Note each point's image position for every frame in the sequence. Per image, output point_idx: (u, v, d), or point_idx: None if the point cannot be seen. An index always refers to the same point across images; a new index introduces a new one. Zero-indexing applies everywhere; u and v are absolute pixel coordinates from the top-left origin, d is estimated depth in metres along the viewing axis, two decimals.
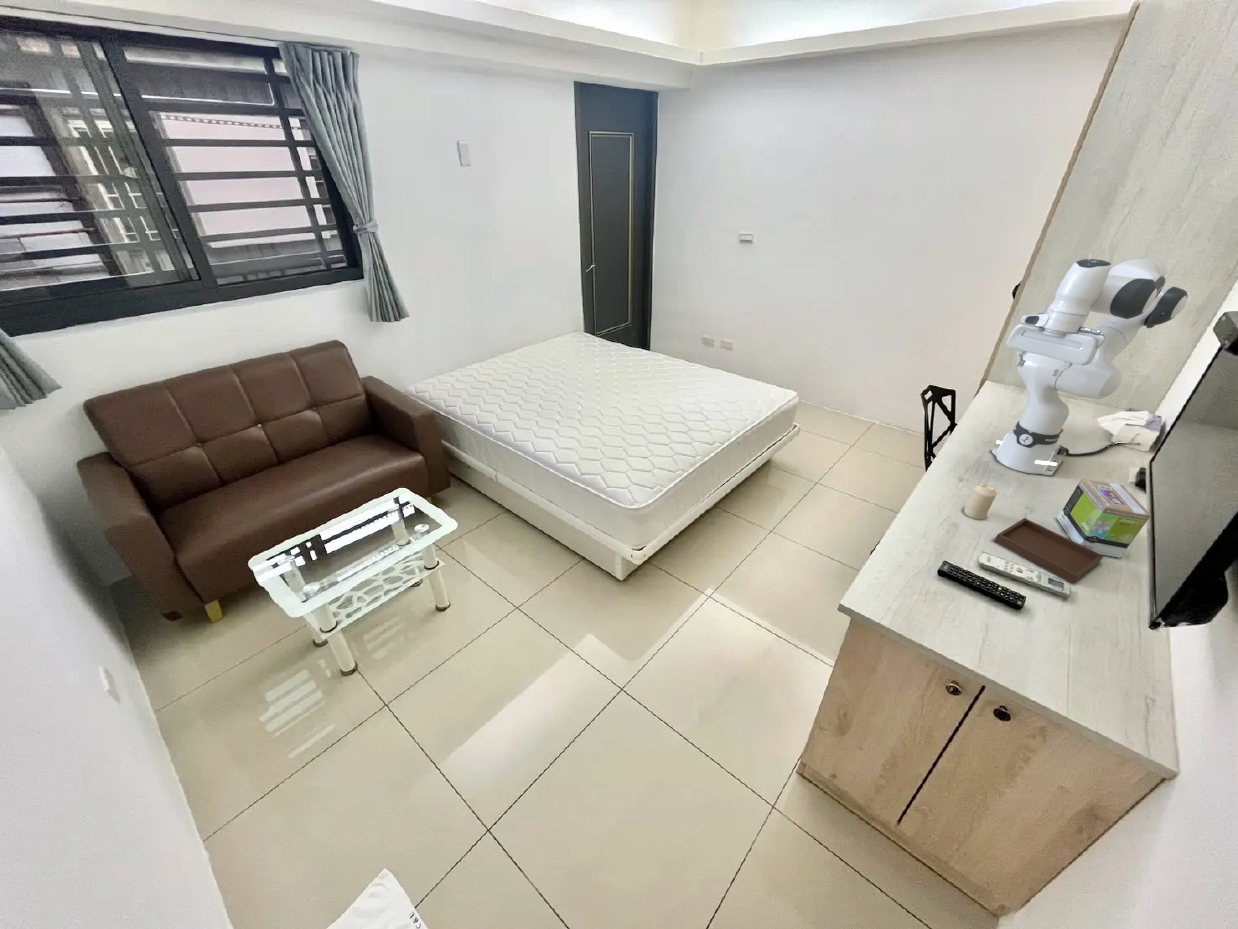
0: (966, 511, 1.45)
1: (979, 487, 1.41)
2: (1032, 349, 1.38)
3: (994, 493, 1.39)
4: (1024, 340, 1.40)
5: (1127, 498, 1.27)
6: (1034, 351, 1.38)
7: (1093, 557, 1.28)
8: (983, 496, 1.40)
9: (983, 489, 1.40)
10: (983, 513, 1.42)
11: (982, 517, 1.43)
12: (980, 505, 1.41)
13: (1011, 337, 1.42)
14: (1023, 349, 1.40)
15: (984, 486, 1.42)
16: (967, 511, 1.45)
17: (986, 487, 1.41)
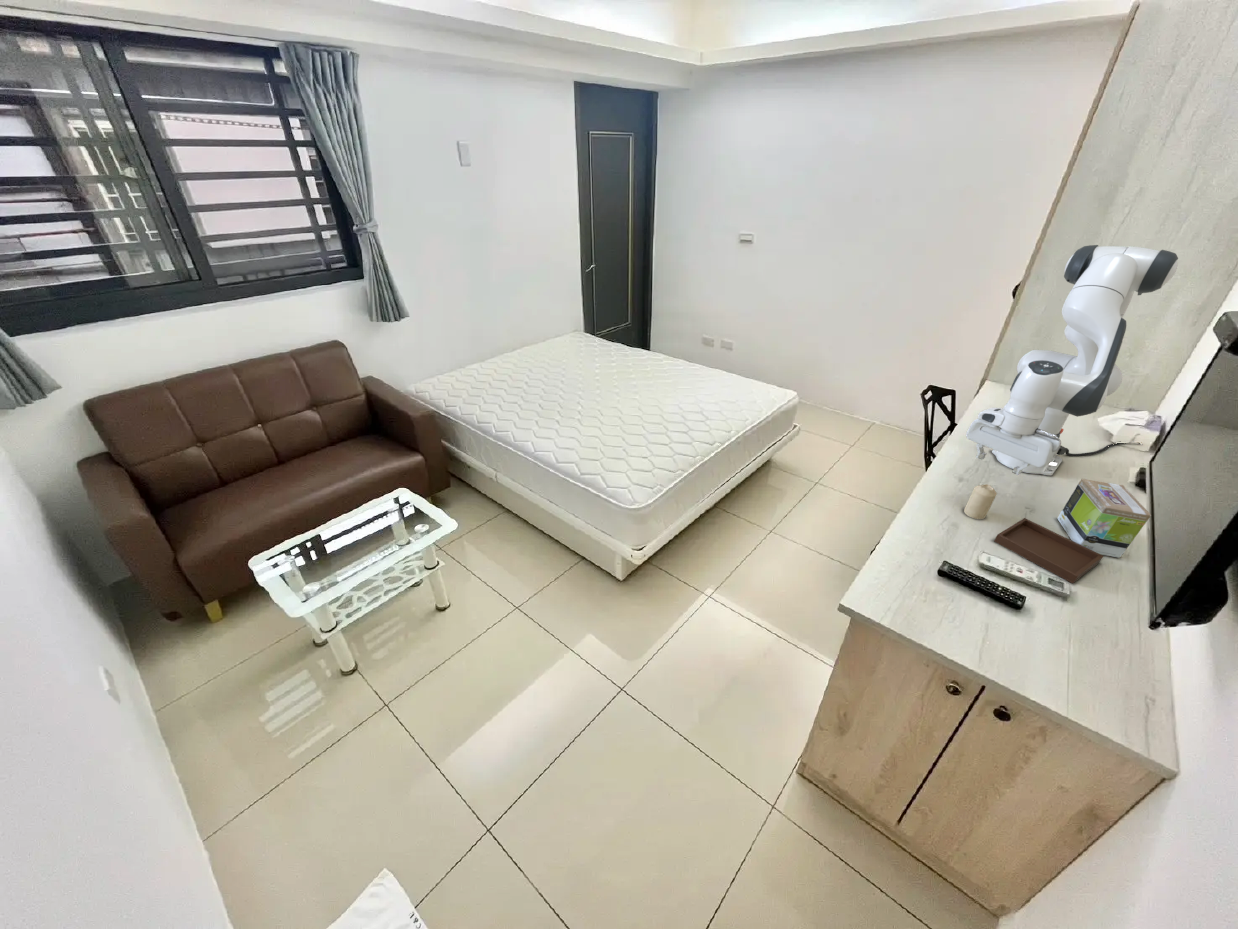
0: (966, 511, 1.45)
1: (979, 487, 1.41)
2: (991, 445, 1.35)
3: (994, 493, 1.39)
4: (982, 435, 1.36)
5: (1127, 498, 1.27)
6: (993, 447, 1.35)
7: (1093, 557, 1.28)
8: (983, 496, 1.40)
9: (983, 489, 1.40)
10: (983, 513, 1.42)
11: (982, 517, 1.43)
12: (980, 505, 1.41)
13: (970, 430, 1.38)
14: (982, 444, 1.37)
15: (984, 486, 1.42)
16: (967, 511, 1.45)
17: (986, 487, 1.41)
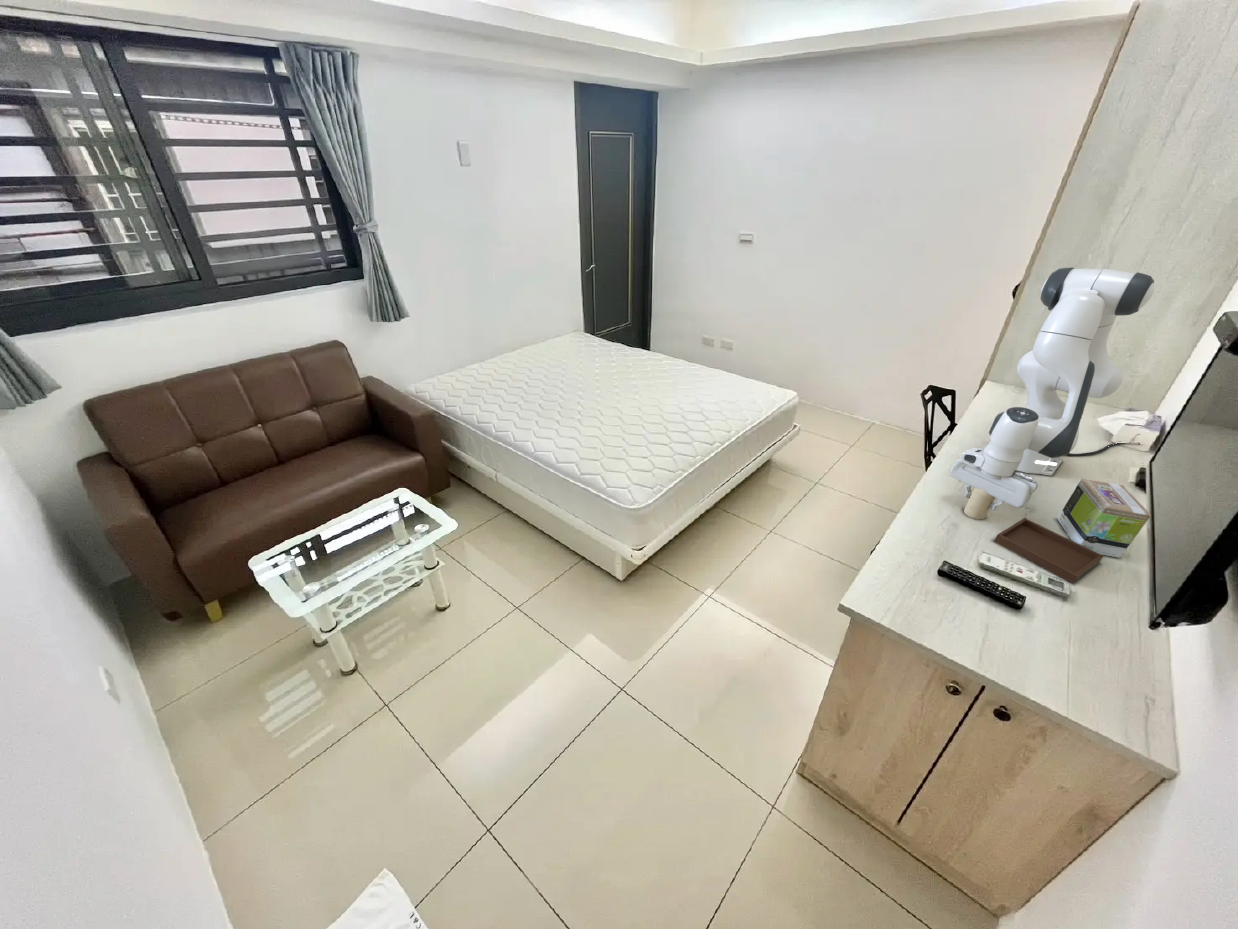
0: (966, 511, 1.45)
1: None
2: (973, 484, 1.42)
3: None
4: (965, 474, 1.43)
5: (1127, 498, 1.27)
6: (975, 486, 1.42)
7: (1093, 557, 1.28)
8: (983, 496, 1.40)
9: None
10: (983, 513, 1.42)
11: (982, 517, 1.43)
12: (980, 505, 1.41)
13: (953, 469, 1.46)
14: (965, 482, 1.44)
15: None
16: (967, 511, 1.45)
17: None
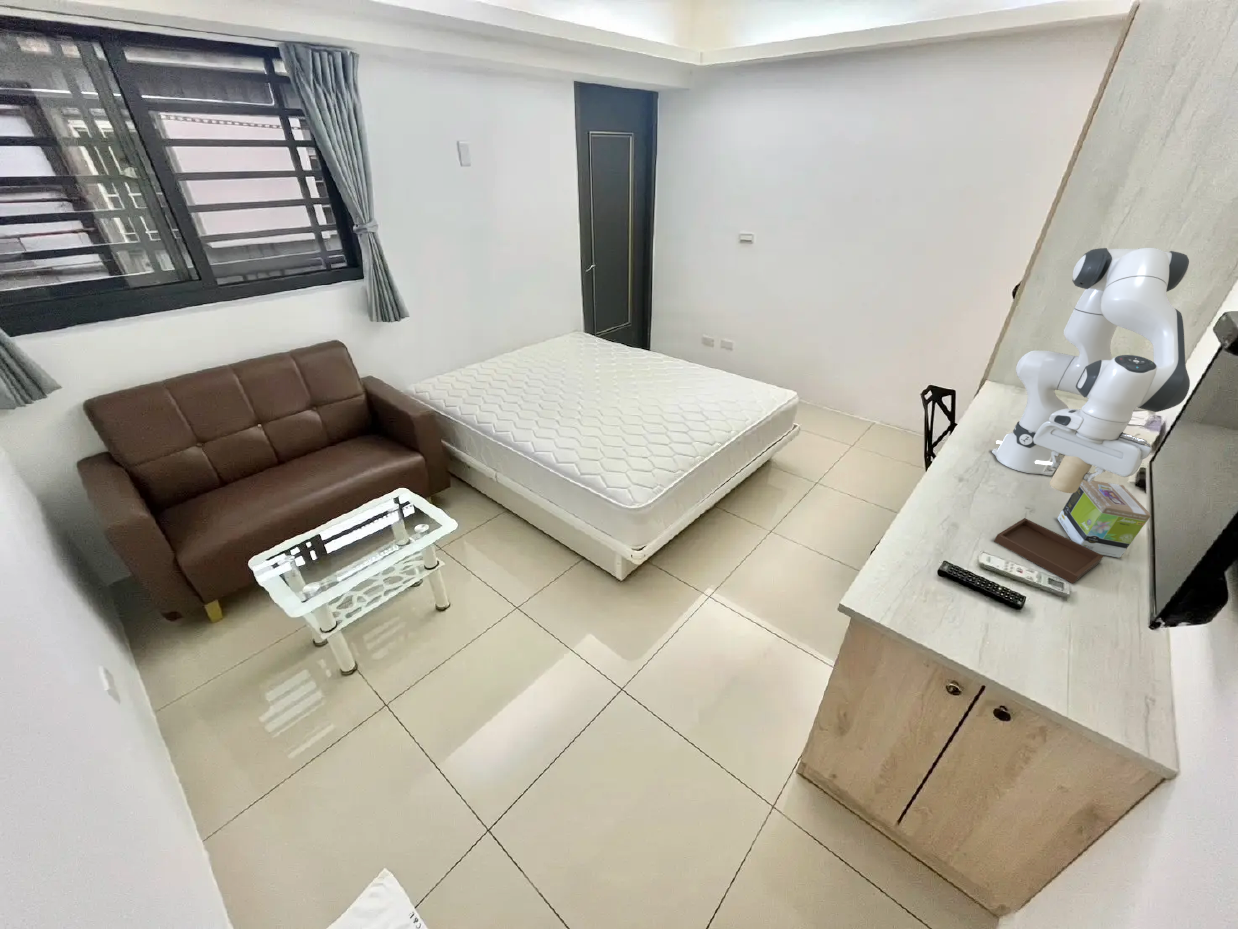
0: (1053, 484, 1.23)
1: None
2: (1064, 451, 1.20)
3: None
4: (1054, 439, 1.21)
5: (1127, 498, 1.27)
6: (1066, 453, 1.20)
7: (1093, 557, 1.28)
8: (1077, 465, 1.18)
9: (1077, 457, 1.18)
10: (1076, 485, 1.20)
11: (1074, 491, 1.21)
12: (1073, 476, 1.19)
13: (1038, 434, 1.24)
14: (1053, 449, 1.22)
15: None
16: (1055, 484, 1.23)
17: None
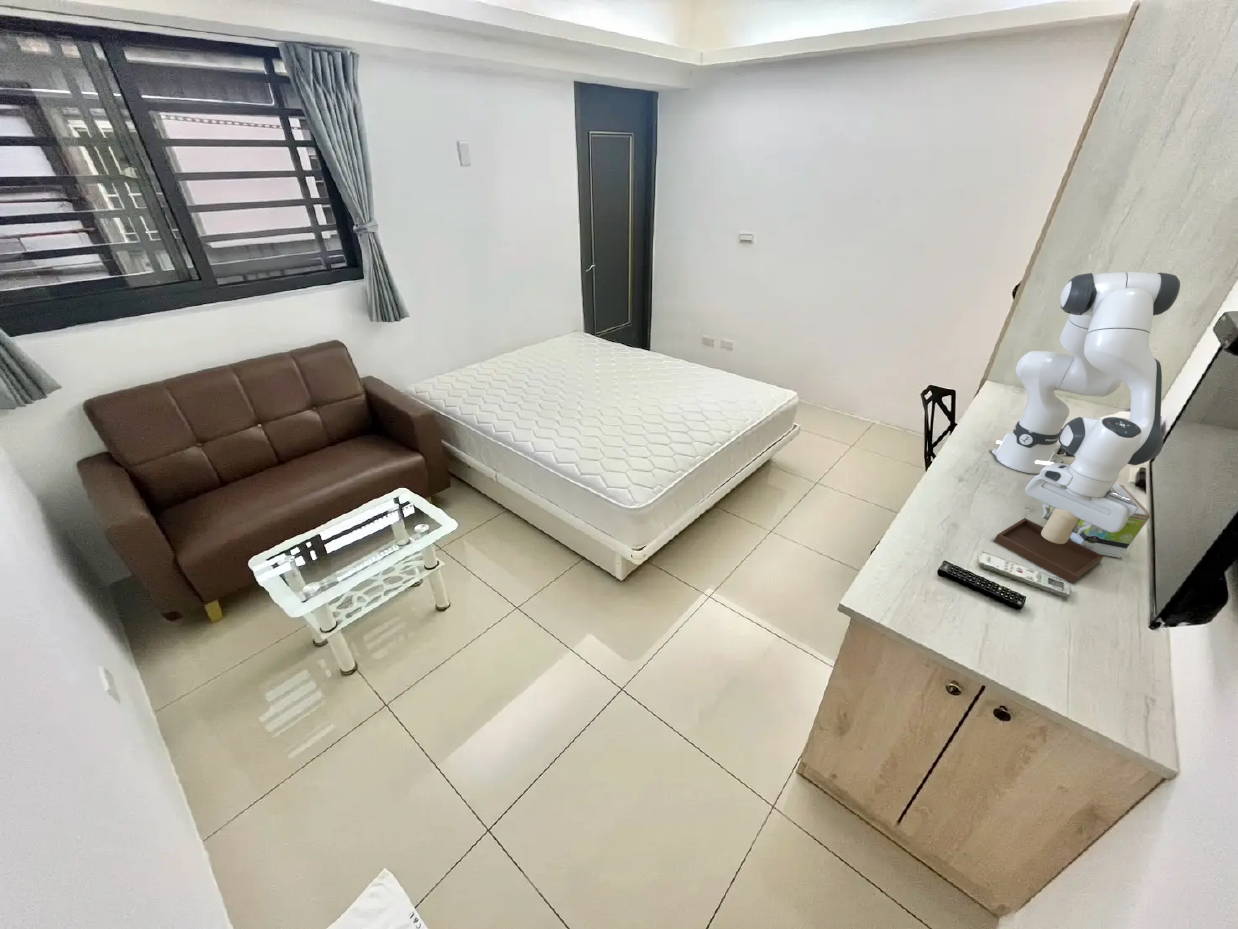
0: (1044, 534, 1.28)
1: None
2: (1054, 504, 1.25)
3: None
4: (1044, 492, 1.26)
5: None
6: (1056, 506, 1.25)
7: (1093, 557, 1.28)
8: (1067, 518, 1.23)
9: None
10: (1066, 537, 1.25)
11: (1064, 542, 1.26)
12: (1063, 528, 1.24)
13: (1030, 487, 1.28)
14: (1044, 501, 1.27)
15: None
16: (1046, 535, 1.28)
17: None
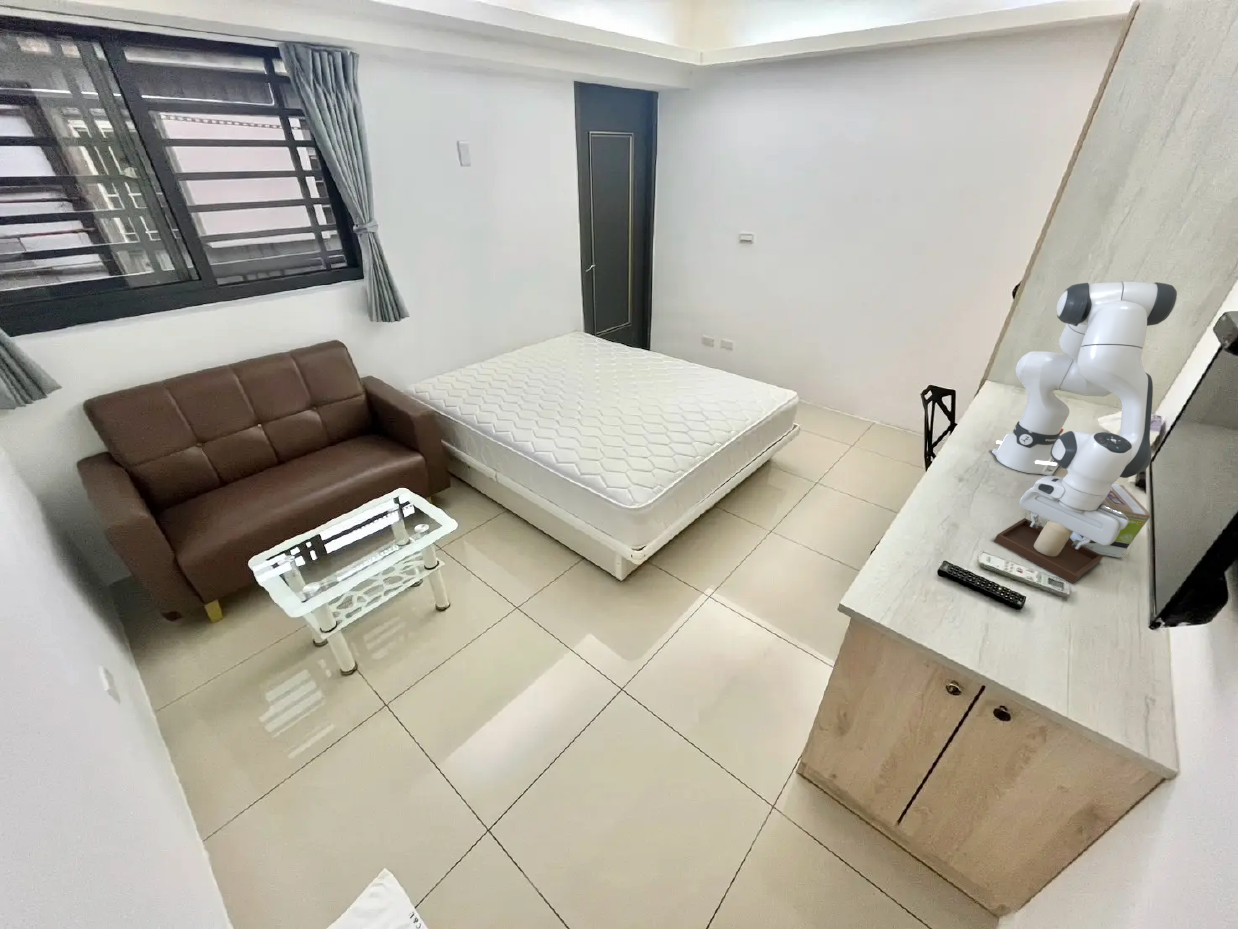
0: (1037, 547, 1.30)
1: None
2: (1047, 516, 1.27)
3: None
4: (1038, 505, 1.28)
5: (1127, 498, 1.27)
6: (1050, 519, 1.27)
7: (1093, 557, 1.28)
8: (1059, 532, 1.25)
9: (1059, 524, 1.25)
10: (1058, 549, 1.27)
11: (1056, 554, 1.28)
12: (1055, 541, 1.26)
13: (1024, 499, 1.30)
14: (1037, 514, 1.29)
15: None
16: (1039, 547, 1.30)
17: None
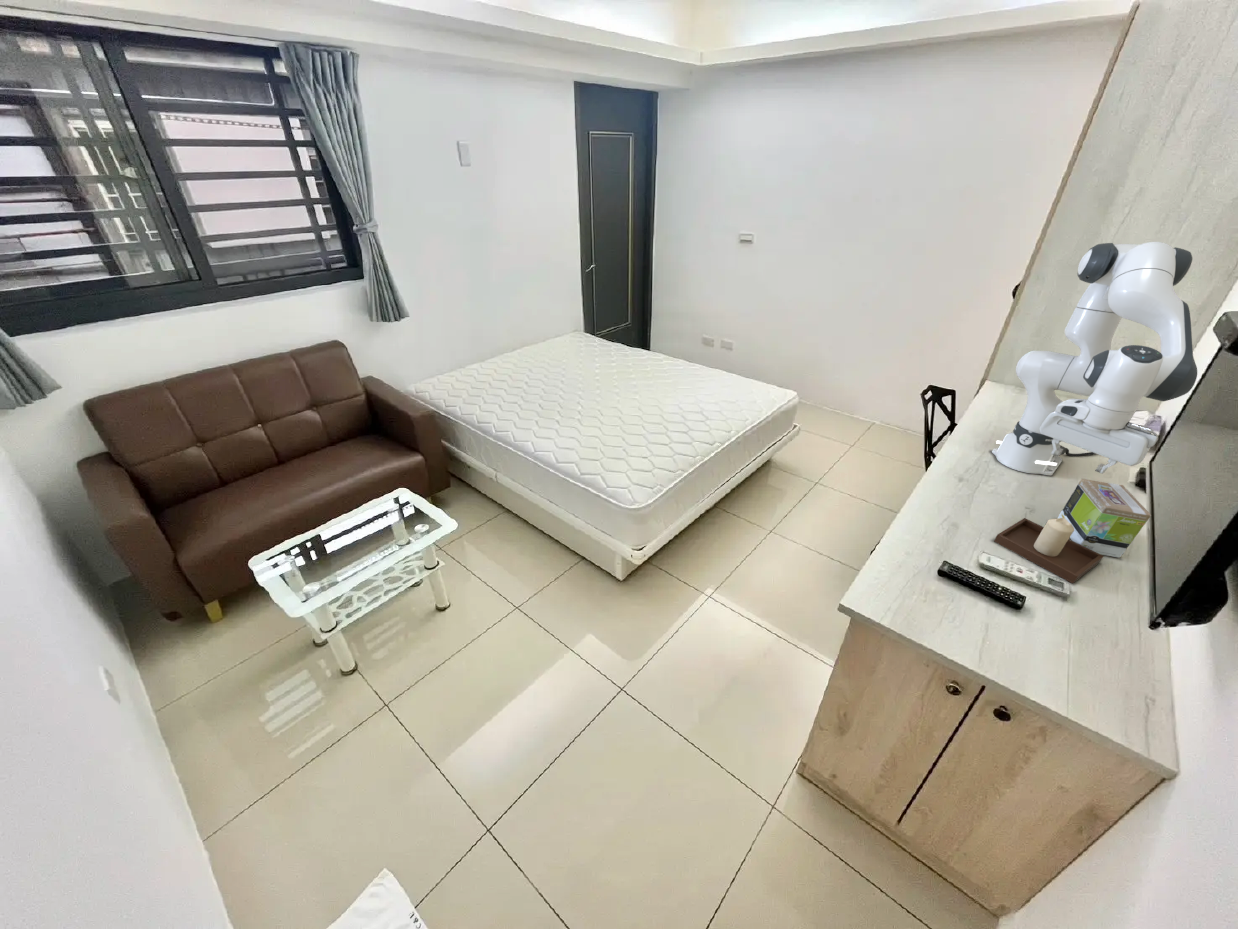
0: (1037, 547, 1.30)
1: (1054, 521, 1.26)
2: (1070, 441, 1.22)
3: (1072, 528, 1.25)
4: (1060, 429, 1.23)
5: (1127, 498, 1.27)
6: (1073, 443, 1.21)
7: (1093, 557, 1.28)
8: (1059, 532, 1.25)
9: (1059, 524, 1.25)
10: (1058, 549, 1.27)
11: (1056, 554, 1.28)
12: (1055, 541, 1.26)
13: (1045, 425, 1.25)
14: (1060, 439, 1.24)
15: (1059, 520, 1.27)
16: (1039, 547, 1.30)
17: (1061, 521, 1.27)
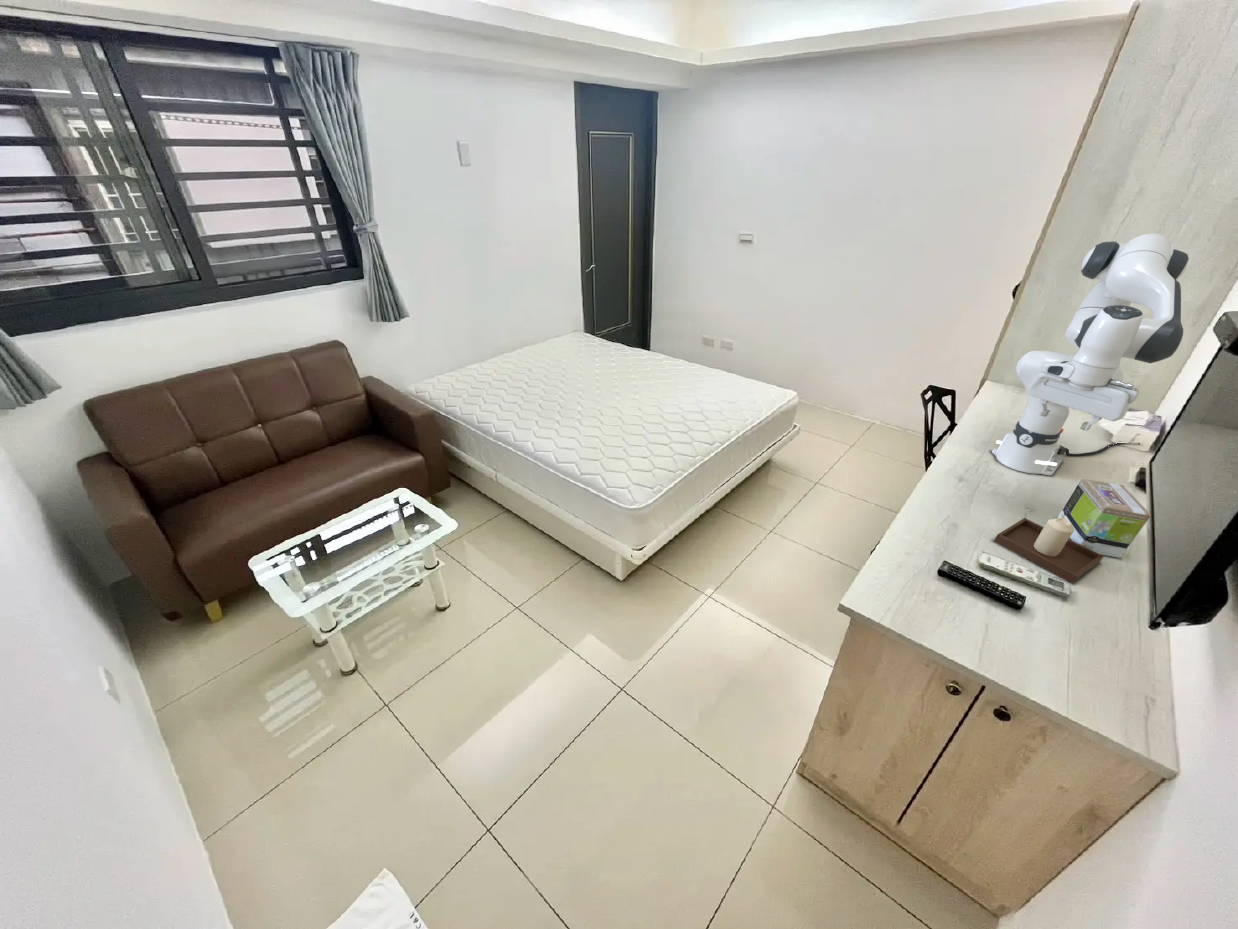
0: (1037, 547, 1.30)
1: (1054, 521, 1.26)
2: (1056, 400, 1.27)
3: (1072, 528, 1.25)
4: (1047, 390, 1.29)
5: (1127, 498, 1.27)
6: (1059, 402, 1.27)
7: (1093, 557, 1.28)
8: (1059, 532, 1.25)
9: (1059, 524, 1.25)
10: (1058, 549, 1.27)
11: (1056, 554, 1.28)
12: (1055, 541, 1.26)
13: (1033, 386, 1.31)
14: (1046, 399, 1.29)
15: (1059, 520, 1.27)
16: (1039, 547, 1.30)
17: (1061, 521, 1.27)
